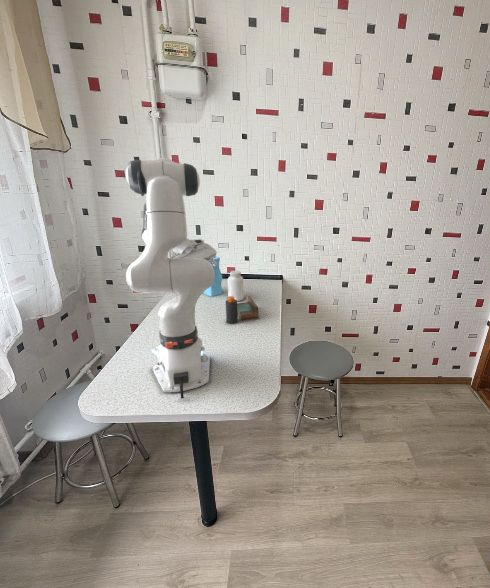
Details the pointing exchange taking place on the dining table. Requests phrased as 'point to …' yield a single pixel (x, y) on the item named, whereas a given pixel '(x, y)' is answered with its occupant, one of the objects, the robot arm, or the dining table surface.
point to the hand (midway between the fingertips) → (207, 269)
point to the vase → (215, 280)
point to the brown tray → (247, 310)
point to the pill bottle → (235, 285)
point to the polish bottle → (231, 310)
